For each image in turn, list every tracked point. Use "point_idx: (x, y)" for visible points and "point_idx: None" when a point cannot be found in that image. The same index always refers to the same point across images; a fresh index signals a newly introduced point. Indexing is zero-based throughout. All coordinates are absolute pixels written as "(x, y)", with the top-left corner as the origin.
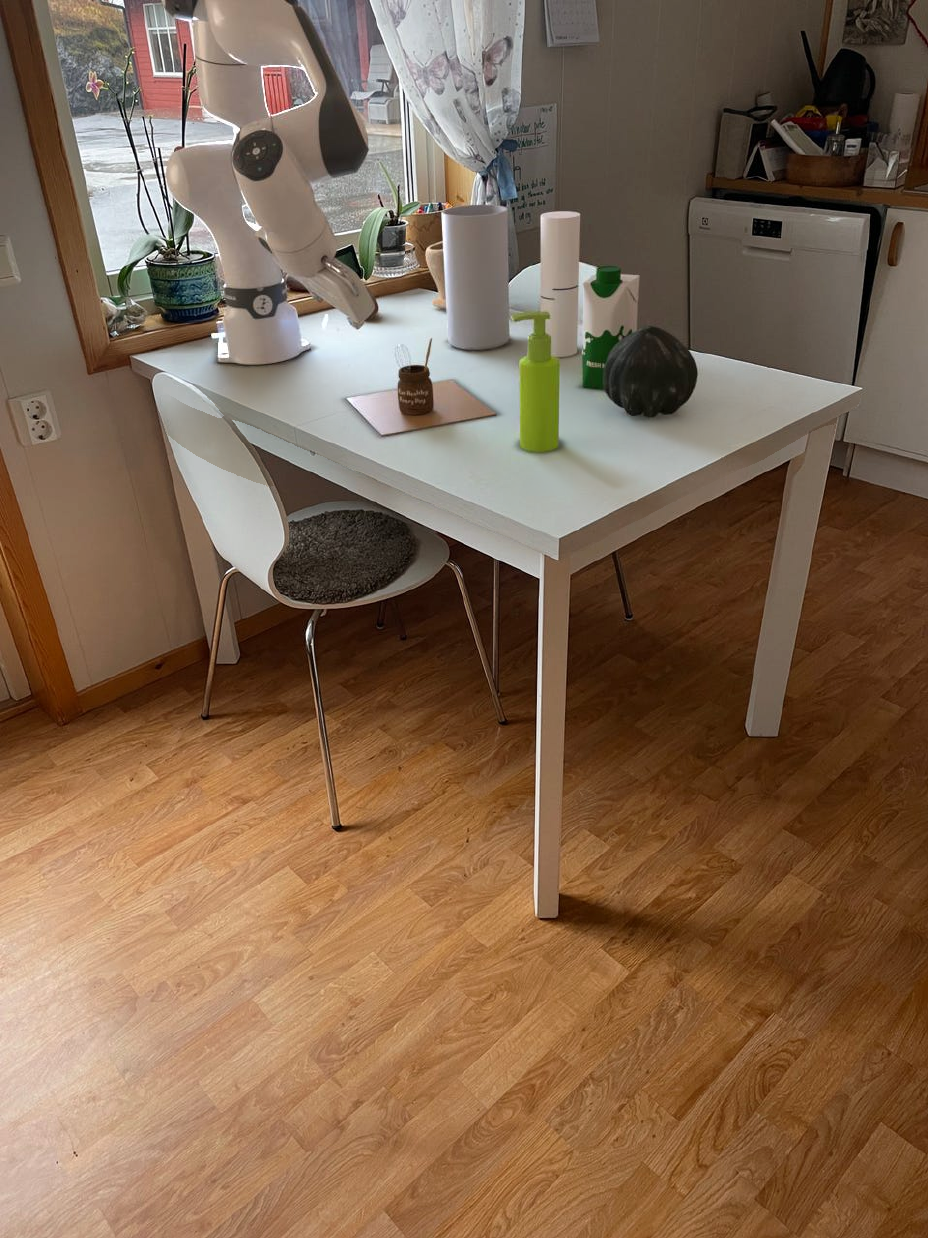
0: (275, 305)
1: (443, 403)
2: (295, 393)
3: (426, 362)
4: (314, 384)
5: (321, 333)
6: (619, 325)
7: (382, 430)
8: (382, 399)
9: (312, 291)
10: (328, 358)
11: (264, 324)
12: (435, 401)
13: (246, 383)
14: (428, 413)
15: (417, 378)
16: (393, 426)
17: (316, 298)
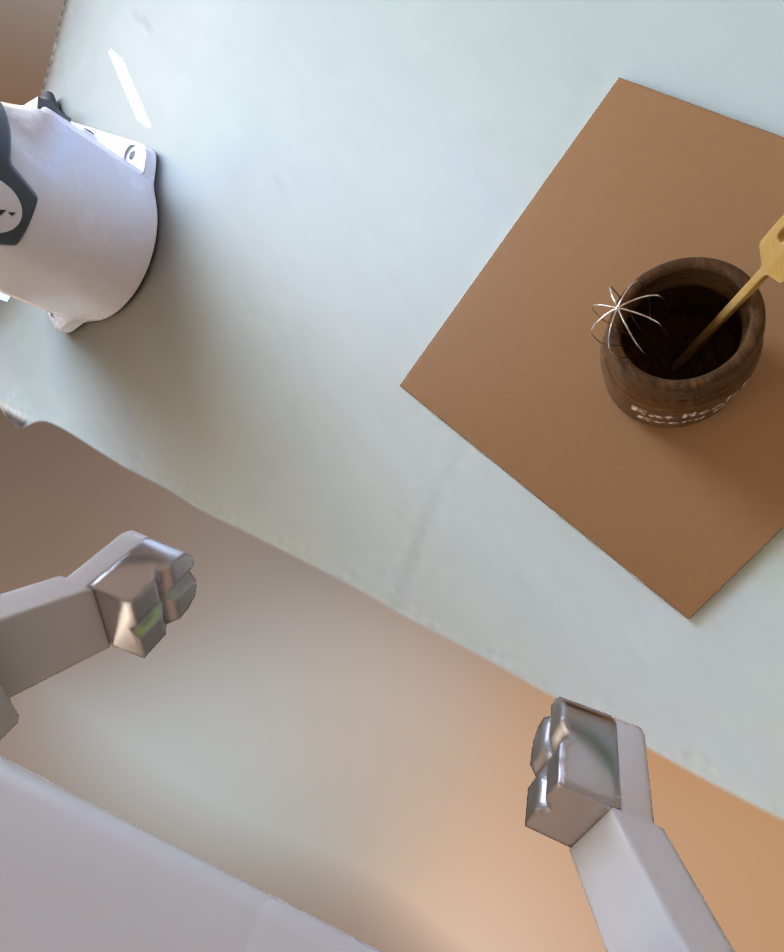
0: (10, 175)
1: None
2: (271, 410)
3: (762, 282)
4: (276, 336)
5: (130, 66)
6: None
7: (663, 579)
8: (501, 344)
9: (100, 644)
10: (216, 177)
11: (45, 235)
12: None
13: (158, 405)
14: None
15: (737, 374)
16: (680, 535)
17: (163, 636)
